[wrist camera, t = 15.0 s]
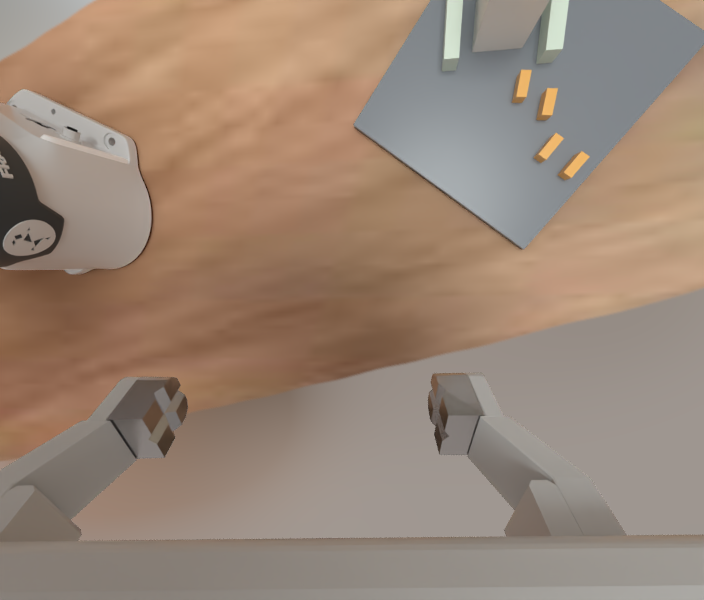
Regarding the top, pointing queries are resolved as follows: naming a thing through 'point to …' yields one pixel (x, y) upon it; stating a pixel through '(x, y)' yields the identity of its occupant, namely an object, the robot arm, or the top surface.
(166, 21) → the top surface
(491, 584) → the robot arm
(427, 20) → the board
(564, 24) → the end holder
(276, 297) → the top surface
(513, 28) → the beige container
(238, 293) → the top surface
